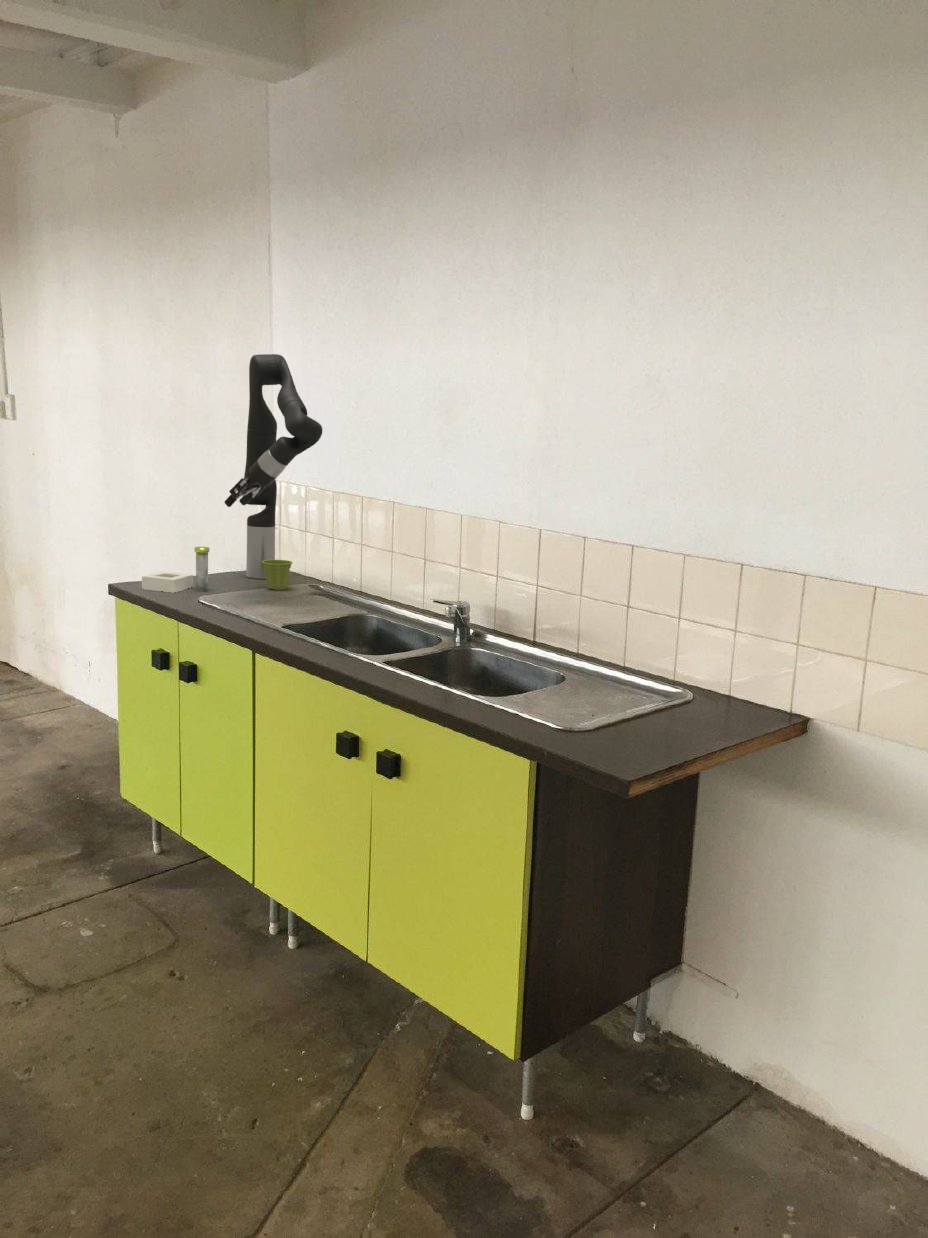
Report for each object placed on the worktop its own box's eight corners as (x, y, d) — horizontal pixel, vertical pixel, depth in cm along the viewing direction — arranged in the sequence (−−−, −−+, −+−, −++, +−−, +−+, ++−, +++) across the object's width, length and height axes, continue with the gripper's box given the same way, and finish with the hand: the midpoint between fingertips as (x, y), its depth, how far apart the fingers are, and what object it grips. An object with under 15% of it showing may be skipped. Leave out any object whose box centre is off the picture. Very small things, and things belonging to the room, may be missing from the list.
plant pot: (258, 586, 332) (259, 559, 330) (287, 585, 336) (288, 559, 334) (266, 591, 324) (266, 564, 322) (295, 591, 328) (296, 563, 326)
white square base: (161, 583, 327) (161, 571, 326) (193, 587, 324) (193, 574, 323) (142, 589, 317) (141, 576, 316) (173, 593, 314) (173, 579, 313)
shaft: (199, 588, 323) (199, 546, 320) (211, 589, 322) (212, 547, 319) (191, 590, 319) (191, 547, 316) (204, 592, 318) (204, 549, 315)
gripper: (272, 457, 314) (238, 493, 319) (248, 457, 300) (213, 495, 306) (287, 476, 313) (253, 512, 318) (264, 477, 300) (229, 514, 305)
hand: (234, 504), depth 312 cm, fingers open, 8 cm apart
